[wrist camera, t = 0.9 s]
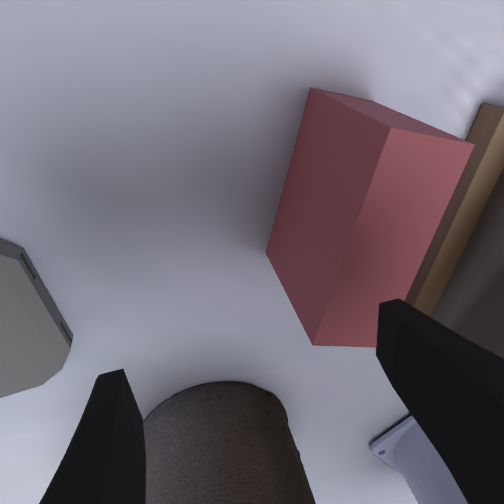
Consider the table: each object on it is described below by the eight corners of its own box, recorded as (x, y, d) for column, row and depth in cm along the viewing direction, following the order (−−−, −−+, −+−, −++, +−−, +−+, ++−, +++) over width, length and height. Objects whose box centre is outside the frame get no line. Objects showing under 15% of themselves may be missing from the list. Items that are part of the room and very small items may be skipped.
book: (372, 100, 19) (475, 144, 13) (320, 257, 23) (383, 347, 17) (309, 87, 19) (390, 127, 13) (265, 252, 22) (312, 345, 16)
